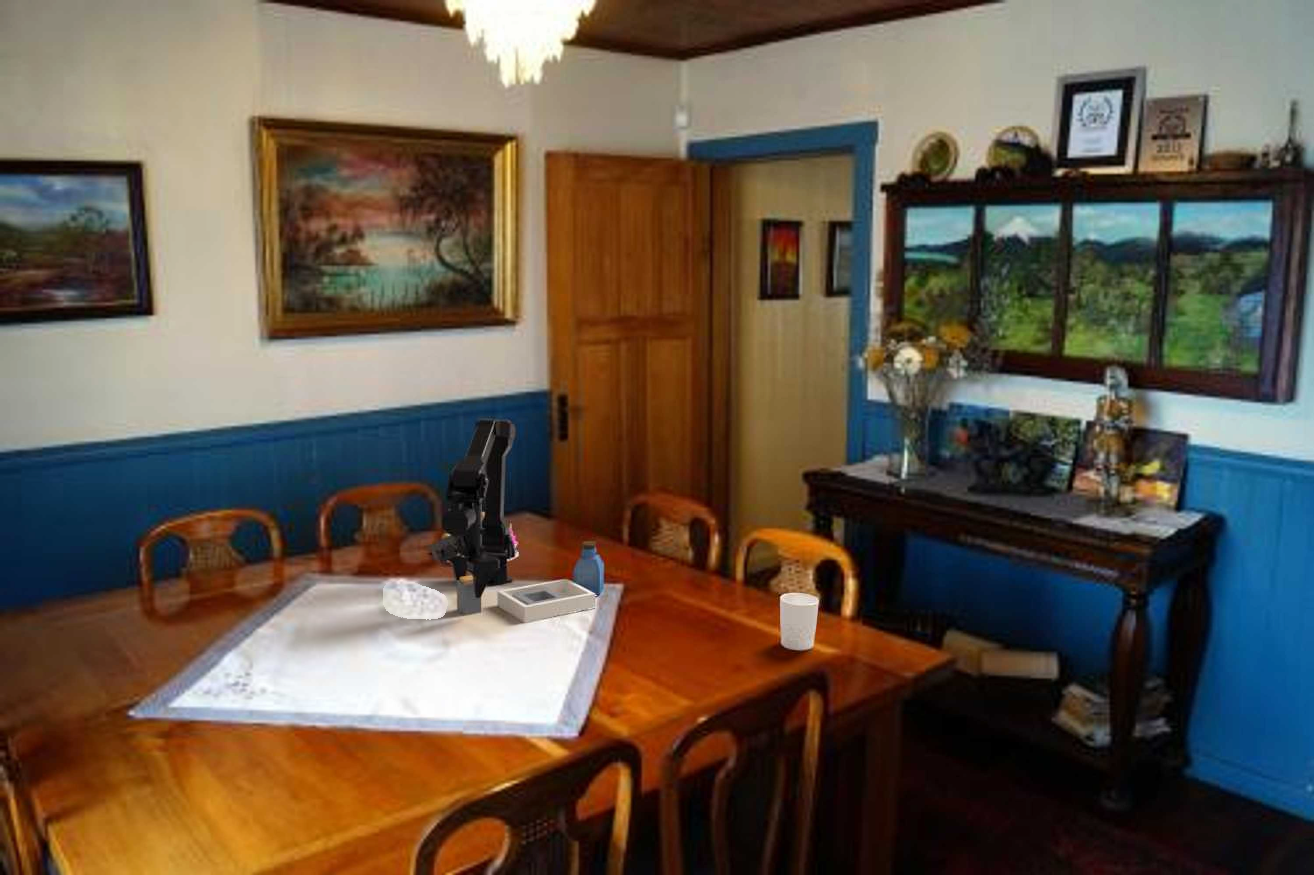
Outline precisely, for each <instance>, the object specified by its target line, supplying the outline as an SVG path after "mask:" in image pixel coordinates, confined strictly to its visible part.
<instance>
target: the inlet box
mask: <svg viewBox="0 0 1314 875" xmlns="http://www.w3.org/2000/svg"><path fill="white" fill-rule="evenodd" d="M496 595H497V607H499V608H500V609H502V610H504V611H505V612H506V613H508V614H510V615H511V616H513V617H515V618H516V619H518V620H519V621H521V622H523V623H524V624H525V623H530V622H536V621H541V620H545V619H544V618H546V619H549V618H548V617H551V618H555V617H554V616H556V617H558V616H557V615H561V616H563V615H562V614H566V615H568V614H567V613H570V612H574V611H578V610H584V609H588V608H593V607H595V608H596V597H595V593H593V592H591V591H589V590H587V589H585V588H583V587H582V586H580V585H578V584H576V583H574V581H572V580H569V579H568V578H564V579H557V580H551V581H547V582H541V583H536V584H535V583H534V584H529V585H525V586H518V587H512V588H508V589H500V590H497V594H496Z"/></svg>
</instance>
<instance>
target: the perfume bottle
mask: <svg viewBox="0 0 1314 875" xmlns="http://www.w3.org/2000/svg"><path fill="white" fill-rule="evenodd" d="M596 545H597V542H596V541H592V540H591V541H583V542H582V548H581V553H582V554H581V556H579V558H578V561H577V563H576V564H575V567H574V569H573V582H574V583H576V584H578V585H580V586H582V587H583V588H585V589H587V590H589V591H591V592H593V593H595V595H597V596H600V597H601V595H602V593H603V591H602V590H604V589H603V588H605V587H604V585H605V584H604V583H605V582H604V581H605V580H604V579H605V577H604V576H605V574H604V572H605V571H604V570H605V563H604V562H603V560H602V558H601V556H600V554H596V553H597V547H596ZM601 592H602V593H601ZM600 594H601V595H600Z"/></svg>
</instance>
